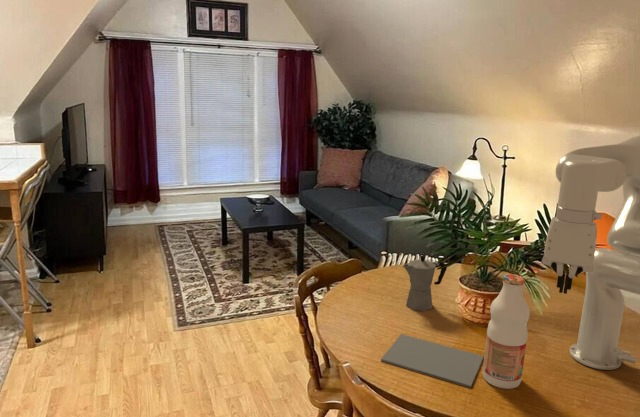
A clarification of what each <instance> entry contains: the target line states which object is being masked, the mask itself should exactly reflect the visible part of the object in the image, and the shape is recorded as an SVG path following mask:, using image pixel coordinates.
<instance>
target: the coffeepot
mask: <svg viewBox="0 0 640 417" xmlns="http://www.w3.org/2000/svg"><path fill="white" fill-rule="evenodd" d="M438 262H440V263H438ZM444 265H446V263H445V262H444V261H430V260H427V259H426V256H425V255H420V259H417V258H416V259H413V260H409V261H408V262H407V263H405V264H403V266H402V267H403V268H404V269H405V270H406V272H407V274H408V276H409V283H410V287H409V291H408V295H407V299H406V306H407V307H408V309H411V310H412V311H417V310H418V311H419V312H426V311H431V309H433V301H432V300H433V299H432V288H431V286H432V284H434V285H437V286H438V285H440V284H441V283H442V281H443V278H444V276H445V273H446V271H447V269H448V266H447V267H445V268H442V267H443V266H444ZM437 268H438V269H439V268H441V269H440V272H439V275H438V277H437V281H434V280H433V279H434V274H435V270H436V269H437ZM433 281H434V283H433Z"/></svg>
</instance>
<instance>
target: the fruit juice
mask: <svg viewBox="0 0 640 417" xmlns="http://www.w3.org/2000/svg"><path fill="white" fill-rule="evenodd" d="M502 283H503V284H502V285H503V286H502V288H501V290H500V292H499V293H498V295H497V297H495V298H494V299H493V300H492V302H491V304H490V309H489V312H490V320H489V322H488V323H487V324H488V325H487V329H486V339H485V347H484V348H485V349H484V354H483V356H484V357H483V366H482V376H483V379H484V381H486V382H487V383H489V384H490V385H492V386H494V387H497V388H498V389H507V390H511V389H515V388H518V387H519V386H520V385H521V383H522V378H523V371H524V370H523V369H524V364H525V356H526V348H527V343H528V342H527V341H528V328H527V324H528V321H529V319H530V313H531V312H530V311H531V310H530V307H529V305H528V303H527V302H526V300H525V297H524V293H523V287H524V286H525V278H524V277H523V276H521V275H518V274H513V273H506V274H504V275H503V277H502Z"/></svg>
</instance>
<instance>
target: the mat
mask: <svg viewBox="0 0 640 417" xmlns="http://www.w3.org/2000/svg"><path fill="white" fill-rule="evenodd" d="M380 361H381V362H383V363H387V364H389V365H393V366H397V367H399V368H403V369H407V370H410V371H413V372H416V373H421V374H423V375H427V376H430V377H432V378H436V379H440V380H443V381H446V382H449V383H453V384H457V385H460V386H463V387H467V388H470V389H471V388H472V386H473V384H474V382H475V379H476V376H477V375H478V371H479V370H480V367H481V365H482V363H483V361H484V355H481V354H477V353H474V352H470V351H466V350H463V349H459V348H456V347H451V346H447V345H444V344H440V343H437V342H433V341H429V340H425V339H421V338H417V337H414V336H410V335H406V334H402V333H401V334H400V335H399V336H398V338H396V340H394V342H393V343H392V345H391V346H390V347H389V349H387V351H386V352H385V354H383V356H382V357H381V358H380Z"/></svg>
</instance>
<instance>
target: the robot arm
mask: <svg viewBox="0 0 640 417" xmlns="http://www.w3.org/2000/svg"><path fill="white" fill-rule="evenodd" d="M555 177H556V179H557V181H558V182H559V183H560V186H559V193H558V199H557V200H558V201H557V206H556V212H555V213H556V214H555V216H553V217H552V218H551V220H550V224H549V226H548V230H547V235H546V240H545V244H544V250H543V252H544V253H543V257H542V259H541V263H542V264H543V265H545V266H548V267H551V268H552V269H553V271H554V272H555V273H556V275H557V281H556V282H557V283H556V289H557V288H558V289H559V290H558V293H560V294H562V293H563V294H564V295H567V294H568V291H569V290H570V291H571V290H572V284H573V279H574V278H575V277H577V276H578V275H579V274H582V273H585V280H586V282H585V290H584V291H585V292H584V299H583V306H582V309H581V310H582V311H581V318H580V324H579V328H578V329H579V330H578V336H577V341H576V342H577V343H573V344H572V345H570V347H569V355H570V356H571V357H572V358H573V360H575V361H576V362H579V363H580V364H582V365H584V366H586V367H590V368H593V369H597V370H603V371H605V370H606V371H610V370H613V371H614V370H617V369H618V368H620V367H621V365H622V361H625V362H627V363H631V364H636V363H637V362H636V361H637V356H635V355H631V351H629V350H628V351H627V350H622V349H621V348H619V338H620V333H621V329H622V328H621V327H622V322H623V316H624V311H625V306H626V304H625V303H626V301H625V297H624V296H623V293H622V291H624V292H629V293H630V294H631V293H632V294H635V295H637V296H640V135H636V136H634V137H630V138H628V139H626V140H624V141H621V142H619V143H616V144H606V145H605V144H604V145H599V146H589V147H583V148H577V149H574V150H571V151H570V152H567V153H565V154H564V155H563V156H562V157H561V158H560V159H559V160H558V162H557V165H556V167H555ZM621 187H622V194H623V200H622V201H623V202H622V205H621V208H620V209H619V212H618V213H617V215H616V217H615V219H614V221H613V223H612V225H611V227H610V229H609V231H608V234H607V236H606V241H607V244H608V245H609V247H610V248H606V247H603V248H602V247H601V248H596V247H597V238H598V227H597V223H596V222H595V221H596V220H602V217H603V213H600V212H597V211H596V207H597V206H596V205H597V200H598V194H599V193H600V192H603V193H610V192H615V191H616V190H618V189H620V188H621ZM611 248H612V249H611ZM564 265H567V266H570V268H569V271H568V272H567V273H565V270H564Z"/></svg>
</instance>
